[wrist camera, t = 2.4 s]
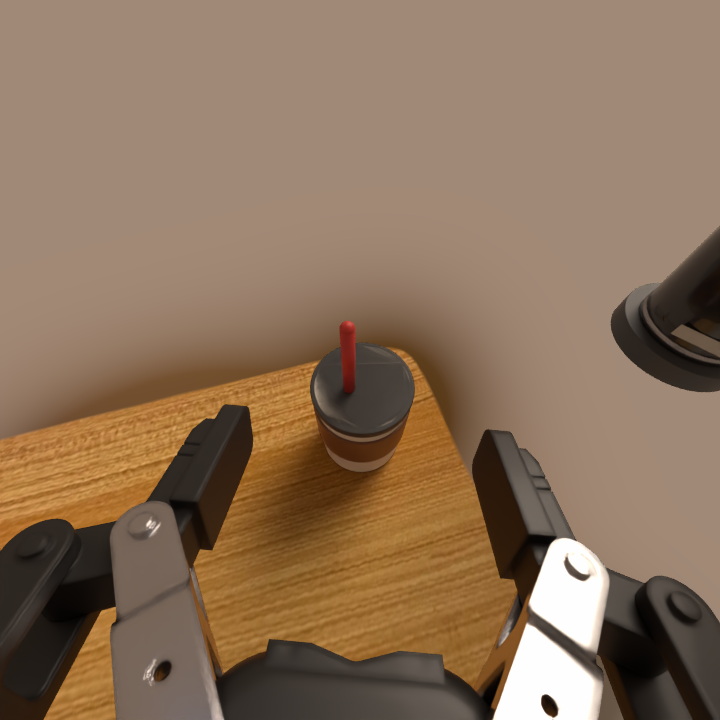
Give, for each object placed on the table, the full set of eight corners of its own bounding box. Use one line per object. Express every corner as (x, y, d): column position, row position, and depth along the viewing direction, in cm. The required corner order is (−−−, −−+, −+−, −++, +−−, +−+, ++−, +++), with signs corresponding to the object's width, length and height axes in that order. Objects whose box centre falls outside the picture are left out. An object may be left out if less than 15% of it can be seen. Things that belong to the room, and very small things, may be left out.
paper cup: (384, 391, 29) (403, 261, 17) (412, 460, 26) (458, 357, 14) (313, 410, 28) (283, 286, 16) (333, 485, 25) (312, 397, 13)
